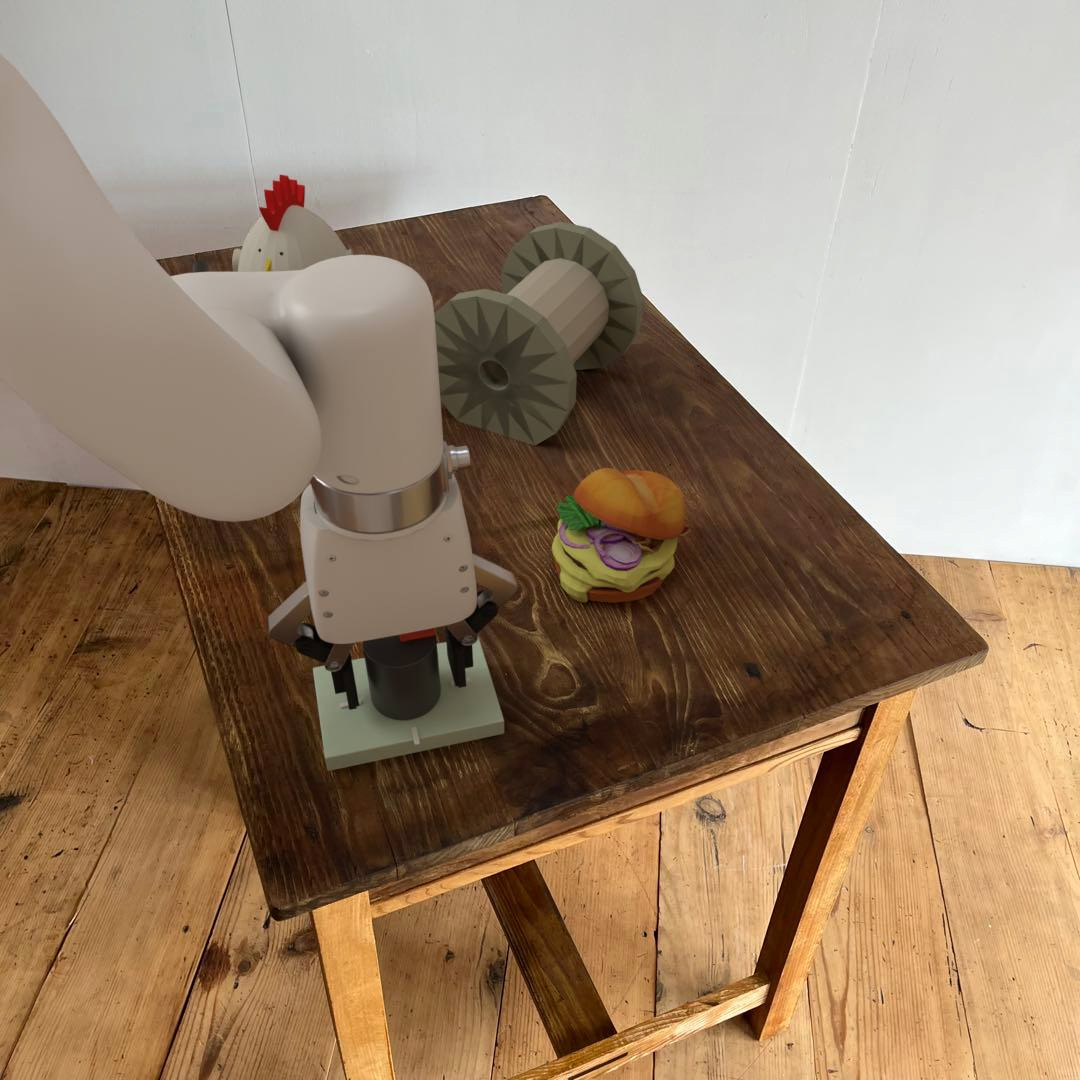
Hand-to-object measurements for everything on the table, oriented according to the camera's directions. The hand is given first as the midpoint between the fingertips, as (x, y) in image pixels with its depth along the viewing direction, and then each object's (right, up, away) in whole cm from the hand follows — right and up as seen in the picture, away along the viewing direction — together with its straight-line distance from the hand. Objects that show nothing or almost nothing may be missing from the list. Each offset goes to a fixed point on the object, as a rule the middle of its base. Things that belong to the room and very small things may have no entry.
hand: (404, 681), depth 69 cm
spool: (+9, +24, +33) cm, 41 cm away
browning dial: (0, -1, +1) cm, 1 cm away
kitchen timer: (-18, +36, +46) cm, 61 cm away
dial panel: (0, -3, +3) cm, 4 cm away
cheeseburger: (+15, +7, +15) cm, 23 cm away
